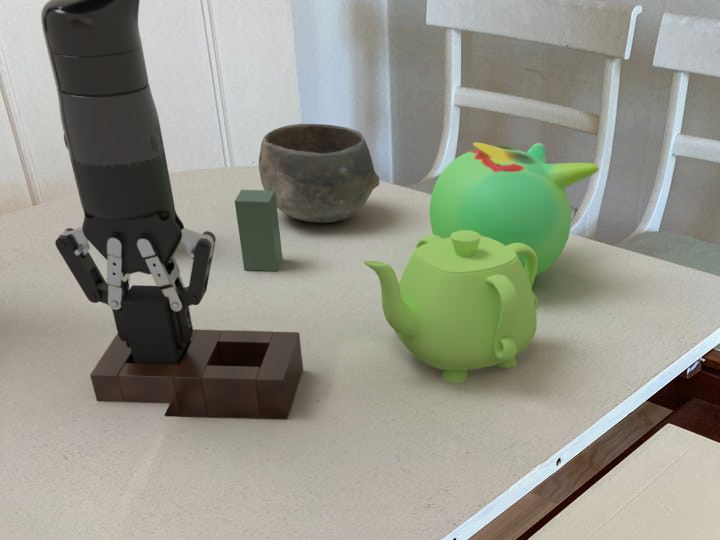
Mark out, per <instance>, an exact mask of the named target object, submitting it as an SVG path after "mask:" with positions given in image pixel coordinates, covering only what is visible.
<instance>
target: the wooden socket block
mask: <svg viewBox="0 0 720 540" xmlns="http://www.w3.org/2000/svg"><path fill="white" fill-rule="evenodd" d="M303 365H304V364H303V355H302V345H301V336H300V332H299V331H295V332H294V331H272V330H271V331H267V330H266V331H265V330H264V331H263V330H236V329H235V330H234V329H233V330H232V329H231V330H230V329H225V330H224V329H196V328H195V329H194V328H193V335H192V337H191V339H190V341H189V343H187V351H186V353H185V355H184V357H183V359H182V361H181V363H180V365H170V364H134V361H133V356H132V352H131V348H130V347H127V345H126V341H122V340H121V339H120V337H119V336H118V332H117V333H116V334H115V336H114V337H113V338H112V341H111V342H110V344H108V346H107V348H106V350H105V351H104V353H103V354H102V356H101V357H100V359H99V360H98V362H97V363H96V365H95V366H94V368H93V369H92V371H91V373H90V374H89V377H90V380H91V384H92V388H93V391H94V395H95V398H96V402H104V403H105V402H110V403H141V404H142V403H144V404H145V403H147V404H148V403H149V404H169V405H168V407H167V409H166V411H165V413H164V414H163V416H165V417H191V418H192V417H197V418H233V419H266V420H267V419H268V420H269V419H270V420H271V419H272V420H274V419H275V420H287V419H289V417H290V413H291V410H292V406H293V403H294V400H295V396H296V394H297V391H298V387H299V384H300V381H301V377H302V374H303V371H304V366H303Z"/></svg>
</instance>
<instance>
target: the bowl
mask: <svg viewBox="0 0 720 540" xmlns="http://www.w3.org/2000/svg"><path fill="white" fill-rule="evenodd" d="M258 171H259V177H260V182H261V184H262V188H263V190H269V191H275V195H276V204H277V210H279V211H281V212H283V213H284V214H285V215H286V216H288V217H290V218H293V219H295V220H298V221H304V222H307V223H315V224H316V223H317V224H329V223H337V222H341V221H345V220H346V219H349V218H350V217H351V216H352V215H354V214H355V213H356V212H357V211H358V210H359V209H361V208H362V207H363V206H364V205H365V204H366V203H367V201H368V199H369V198H370V195H371V194H372V192H373V190H375V189H376V188H377V187H379V186H380V176H378V174H377V173H376V171H375V168H374V163H373V160H372V156H371V152H370V149H369V147H368V144H367V142H366V139H365V137H364V135H363V134H362V133H361V132H360V131H358V130H356V129H353V128H349V127H345V126H340V125H332V124H322V123H295V124H288V125H285V126H281V127H278V128H275V129H273V130H271V131H269V132H267V133H266V134H265V135H264V136H263V138H262V141H261V143H260V149H259V157H258Z"/></svg>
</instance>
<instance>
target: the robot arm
mask: <svg viewBox="0 0 720 540" xmlns="http://www.w3.org/2000/svg"><path fill="white" fill-rule="evenodd" d="M140 2H141V0H48V1H47V2H46V3H44V5H43V6H42V9H41V14H40V20H41V27H42V32H43V33H42V34H43V37H44V42H45V46H46V50H47V55H48V59H49V62H50V67H51V71H52V75H53V79H54V83H55V87H56V92H57V93H56V94H57V98H58V107H59V114H60V121H61V126H62V130H63V140H64V145H65V147H66V149H67V151H68V154H69V155H68V156H69V159H70V163H71V168H72V172H73V176H74V180H75V184H76V188H77V193H78V196H79V200H80V204H81V208H82V211H83V215H84V217H83V221H82V222H83V223H82V225H81V226H80V227H78V228H75V229H74V228H73V227H68V228H66V229H64V231H62V232H61V233H60V234H59V236H58V238H57V239H56V240H55V241H54V242H55V243H54V245H55V247H56V249H57V250H58V253H59V254H60V256H61V257H62V259H63V260H64V263H65V264H66V265H67V267H68V269H69V270H70V273H71V274H72V275H73V277H74V279H75V280H76V282H77V283H78V286H79V287H80V289H81V290H82V292H83V294H84V295H85V297H86V298H87V300H88V301H89V302H91V303H93V304H97V303H99V302H100V303H103V304H105V305H107V306H108V307H110V309H111V310H112V314H113V318H114V322H115V327H116V330H117V333H118V336H119V337H120V339H121V340H122V341H126V345H127V347H130V343H129V339H128V335H127V331H126V326H125V322H124V318H123V313H122V309H121V305H120V303H121V301H122V300H123V298H124V297H125V295H126V294H127V292H128V291H129V289H130V281H131V275H132V274H136V273H141V274H142V273H143V274H146V275H151V276H152V278H153V280H154V283H155V286H157V287H158V288H159V289H161V290H162V292H163V294H164V296H165V299H166V301H167V303H168V305H169V307H170V309H171V310H170V317H171V322H172V327H173V332H174V337H175V342H176V347H177V348H178V349H185V347H186V345H187V343H189V341H190V339H191V337H192V335H193V329H194V327H193V322H192V317H191V311H190V306H198V305H199V304H201V302H202V300H203V298H204V296H205V294H206V293H207V290H208V284H209V279H210V273H211V267H212V262H213V257H214V251H215V246H216V241H217V240H216V239H217V238H216V236H215V234H214V233H213V232H212V231H210V230H207V231H204V232H202V233H200V232H197V231H194V230H191V229H188V228H185V225H184V223H183V221H182V220H181V219H180V217H179V215H178V214H177V211H176V207H175V206H176V205H175V200H174V195H173V190H172V184H171V179H170V172H169V167H168V162H167V155H166V151H165V145H164V140H163V134H162V129H161V124H160V123H161V122H160V118H159V114H158V110H157V106H156V104H155V103H156V102H155V100H154V96H153V94H152V90H151V86H150V83H149V75H148V70H147V65H146V64H147V63H146V59H145V53H144V47H143V42H142V39H141V38H142V37H141V33H140V27H139V13H140ZM89 243H90V244H91V245H92V246H93V247H94V248H95V249H96V250H97V252H98V253H100V254H101V256H102V257H103V258H104V259H105V260H106V261H107V263H106V264H107V266H106V279H105V278H104V275H103V274H102V273H101V271H100V269H99V268H98V266H97V264H96V262H95V261H94V259H93V257H92V255H91V254H90V249H91V246H90V244H89ZM181 243H182V244H183V245H184V246H185V248H186V255H187V256H188V258H190V259H191V260H193V261H192V266H191V271H190V278H189V283H188V286H185V283H184V281H183V279H182V277H181V271H180V267H179V265H178V263H177V260H176V258H175V256H174V255H175V253H176V251H177V249H178V247H179V245H180V244H181Z"/></svg>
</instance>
